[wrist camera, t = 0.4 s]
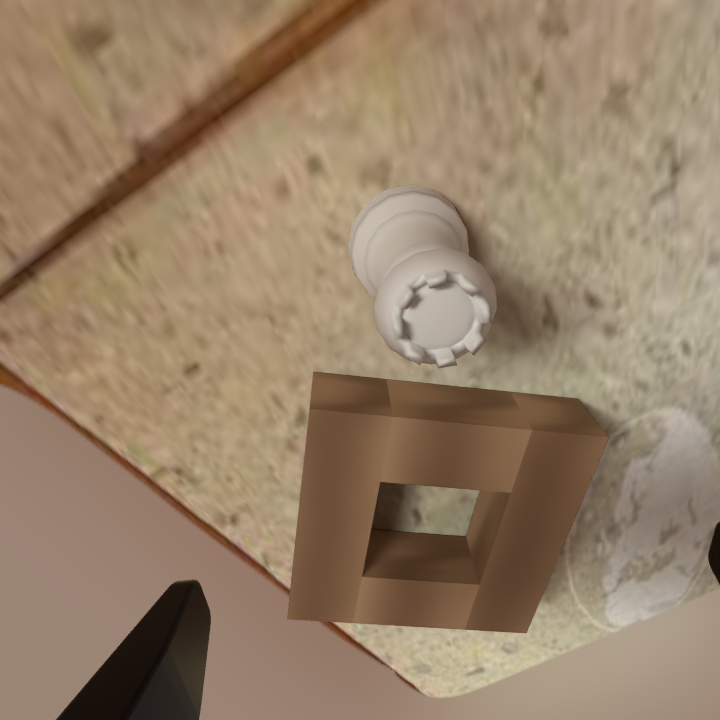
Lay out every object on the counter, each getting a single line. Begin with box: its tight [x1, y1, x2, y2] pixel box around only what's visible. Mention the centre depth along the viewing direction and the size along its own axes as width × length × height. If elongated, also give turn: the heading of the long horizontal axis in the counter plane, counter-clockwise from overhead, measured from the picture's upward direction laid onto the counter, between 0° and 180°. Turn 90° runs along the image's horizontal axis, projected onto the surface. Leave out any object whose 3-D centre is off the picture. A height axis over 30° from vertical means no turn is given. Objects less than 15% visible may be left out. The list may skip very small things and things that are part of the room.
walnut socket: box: [287, 372, 609, 633], centre depth 24 cm, size 12×12×3 cm
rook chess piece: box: [348, 185, 497, 368], centre depth 16 cm, size 4×4×8 cm
